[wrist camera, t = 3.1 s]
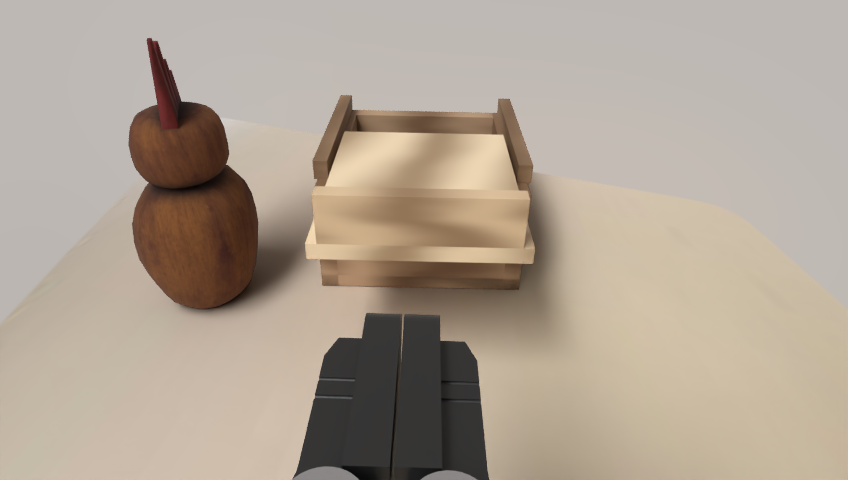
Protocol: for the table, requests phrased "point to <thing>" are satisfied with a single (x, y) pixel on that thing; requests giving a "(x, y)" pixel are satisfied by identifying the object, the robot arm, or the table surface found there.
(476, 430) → the robot arm
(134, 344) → the table surface
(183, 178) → the wooden figurine
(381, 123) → the light wooden box
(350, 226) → the lid
